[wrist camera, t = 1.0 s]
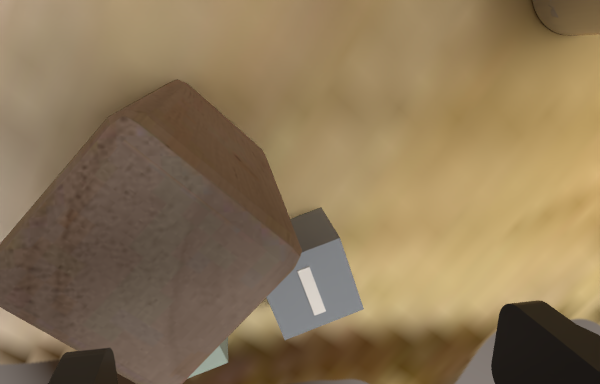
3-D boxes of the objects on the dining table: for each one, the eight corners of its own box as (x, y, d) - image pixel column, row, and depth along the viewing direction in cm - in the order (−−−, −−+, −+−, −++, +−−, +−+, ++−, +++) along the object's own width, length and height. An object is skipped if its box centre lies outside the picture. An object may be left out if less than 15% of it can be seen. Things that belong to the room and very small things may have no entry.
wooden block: (269, 154, 37) (315, 259, 18) (195, 236, 38) (166, 412, 20) (177, 73, 34) (118, 100, 15) (98, 164, 35) (-47, 295, 16)
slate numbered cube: (321, 207, 40) (340, 238, 33) (342, 270, 42) (365, 312, 35) (248, 234, 39) (252, 272, 33) (274, 297, 42) (283, 344, 35)
